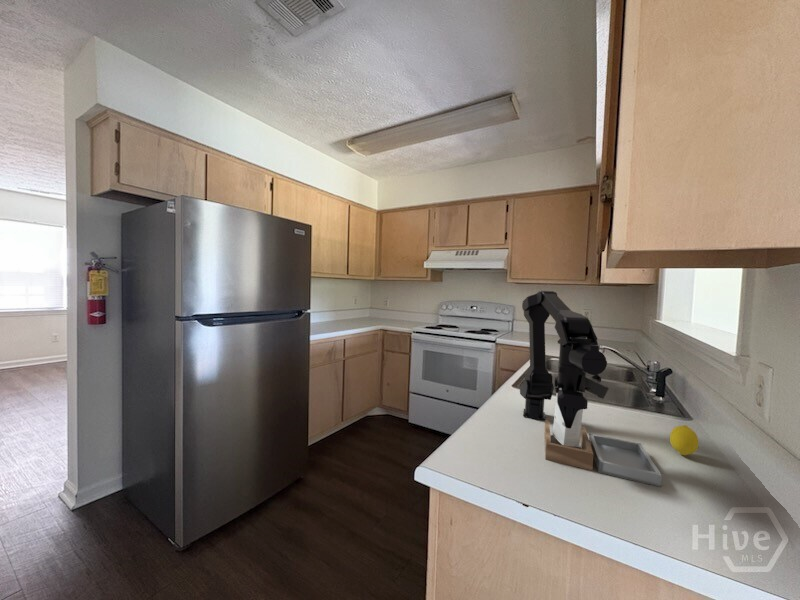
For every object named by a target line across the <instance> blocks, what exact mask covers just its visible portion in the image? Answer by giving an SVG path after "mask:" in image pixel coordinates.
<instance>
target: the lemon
mask: <svg viewBox="0 0 800 600" xmlns="http://www.w3.org/2000/svg"><path fill="white" fill-rule="evenodd" d="M669 442H670V444H671V446H672V448H673V450H675V451H676V452H678V453H679V454H680V455H681V456H684V457H685V456H687V455H693V454H694V453H696V452H697V450H698V448H699V438H698V435H697V433H696V432H695V431H694V429H692V428H690V427H688V425H685V424H682V425H678V426H675V427H674V428H673V429H672V430H671V432H670V435H669Z"/></svg>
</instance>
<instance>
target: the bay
mask: <svg viewBox="0 0 800 600" xmlns="http://www.w3.org/2000/svg"><path fill="white" fill-rule="evenodd" d="M586 430H587V429H586V428H585V427H584V426H581V432H580V442H579V445H580V447H581V448H577V447H574V446H564V445H562V444H558V443H555V442H554V443H553V442H551V441H552V440H551V439H552V438H551V429H550V420H547V419H545V420H544V433H543V434H544V452H545V455H544V458H545V459H544V460H546V461H550V462H554V463H559V464H562V465H568V466H572V467H577V468H581V469H585V470H589V471H593V466H594V457H593V455H594V454H593V451H592V448H591V445H590V442H589V435H588V433H587V431H586Z"/></svg>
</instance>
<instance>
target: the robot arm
mask: <svg viewBox="0 0 800 600" xmlns="http://www.w3.org/2000/svg"><path fill="white" fill-rule="evenodd" d="M521 305H522V306H521V307H522V311H523V316H524V318H525V319H526V322H528V325H529V326H528V327H529V328H528V331H529V332H528V333H529V334H528V335H529V367H528V368H527V371H526V372H525V374H524V379H523V382H522V384H521V385H520V387H519V394H520V396H521V397H523V399H525V403H524V404H525V405H524V406H525V407H524V408H523V411H522V412H523V414H522V415H523V417H525V418H530V419H535V420H540V421H545V420H546V415H545V414H546V413H545V412H544V409H545V400H547V401H548V400H549V401H551V400H552V398H553V397H552V396H553V392H554V389H555V393H557V403H558V406H559V409H560V411H561V414H562V417H563V420H564V423H565V426H566V428H571V427H572V424H573V421H574V419H575V416H576V414H577V412H578V411H579V410H581V409H583V410H588V404H589V401H588V399H587V397H586V396H585V394H584V393H586V391H587V392H589V393H591V394H593V395H595V396H597V397H598V398H599V399H602V400H604V398H605V397H606V395H607V394H608V391H609V389H610V386H609V385H608V383H606V382H605V381H602V376H601V375H600V374H601V373H603V372H604V371H605V370H606V368H607V365H608V361H607V358H606V356H605V354H603V352H602V351H600V346H599V343H598V337H597V334H596V333H595V331H594V327H593V325H592V322H591V321H590V319H589V318H588V317H587V316H585V315H583V314H582V313H579V312H575V311H573V310H571V308H570V307H569V306H568V305H566V304H565V303H564V302H563V300H562V299H561V298H560V297H559V296H558V293H557V292H556V291H553V290H540V291H537V292H536V293H535V294H531V295H529V296H526V297H525V299H523V301H522V304H521ZM550 316H551V318H552V319H553V320H554V321H555V325H554V329H555V331H556V334H557V336H558V337H559V339H558V340H557V344H559V356H558V358H559V359H558V364H557V370H558V371H557V372H558V373H557V376H556V377H554V384H553V374H552V373H550V372H549V370H548V369H547V367H546V365H547V363H546V362H547V361H546V330H545V329H546V327H545V326H546V322H547V320H548V319H549V317H550ZM587 374H588V375H587ZM554 387H555V388H554Z"/></svg>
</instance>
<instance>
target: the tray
mask: <svg viewBox="0 0 800 600" xmlns="http://www.w3.org/2000/svg"><path fill="white" fill-rule="evenodd" d="M588 439H589V442H590V445H591V448H592V451H593V454H594V455H593V461H594V463H595V466H596V470H597V472H598V473H599V474H604V475H609V476H612V477H617V478H620V479H625V480H630V481H634V482H638V483H642V484H646V485H651V486H655V487H659V488H661V487H662V481H663V479H662V478H663V475H662V473H661V472H660V470H659V469H658V467H657V466H656V464H655V463H654V461H653V460H652V458H651V457H650V455H649V453H648V452H647V451H646V449H645V448H644V447H643V444H642V443H640V442H635V441H630V440H624V439H620V438H619V439H618V438H616V437H615V438H614V437H610V436H604V435H599V434H594V433H589V435H588Z"/></svg>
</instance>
